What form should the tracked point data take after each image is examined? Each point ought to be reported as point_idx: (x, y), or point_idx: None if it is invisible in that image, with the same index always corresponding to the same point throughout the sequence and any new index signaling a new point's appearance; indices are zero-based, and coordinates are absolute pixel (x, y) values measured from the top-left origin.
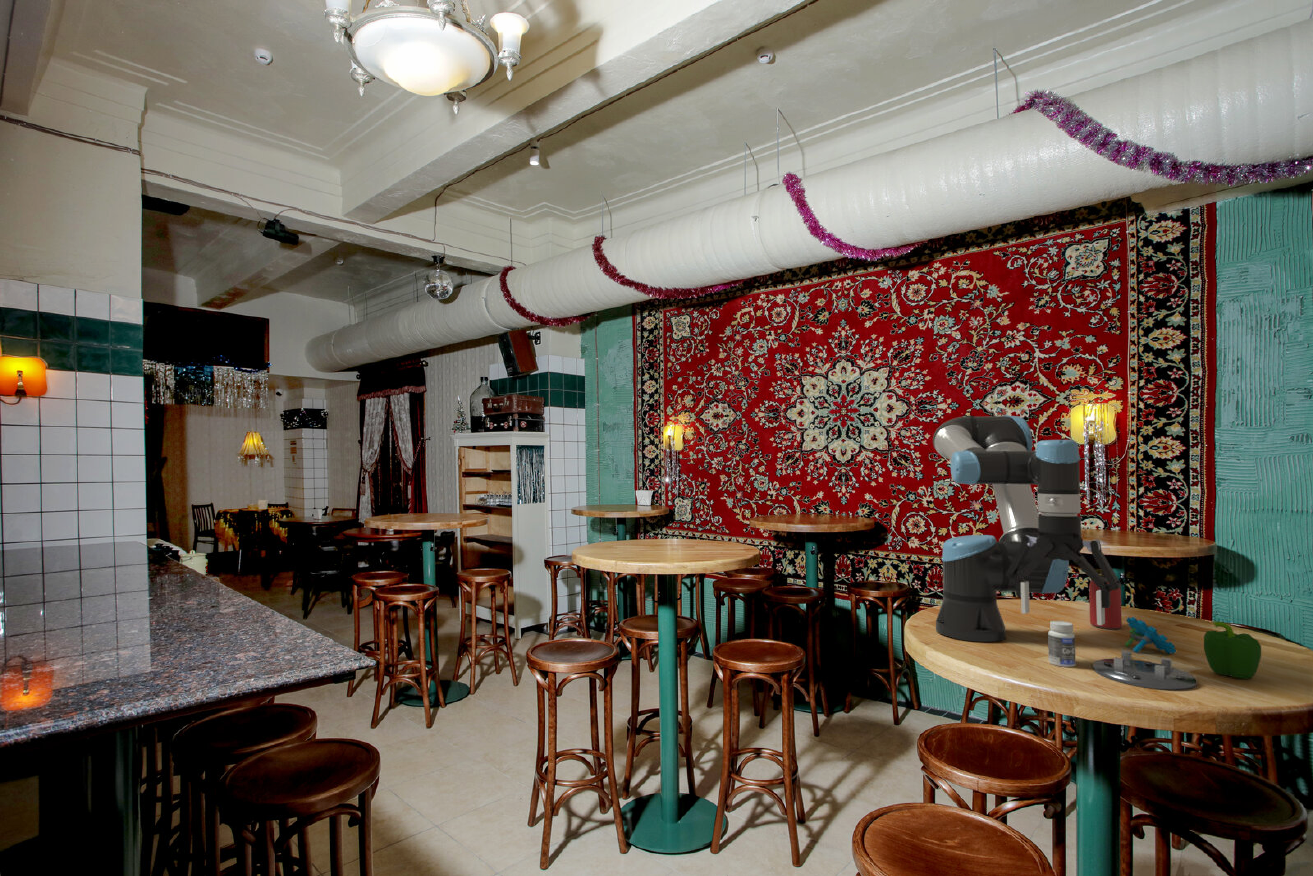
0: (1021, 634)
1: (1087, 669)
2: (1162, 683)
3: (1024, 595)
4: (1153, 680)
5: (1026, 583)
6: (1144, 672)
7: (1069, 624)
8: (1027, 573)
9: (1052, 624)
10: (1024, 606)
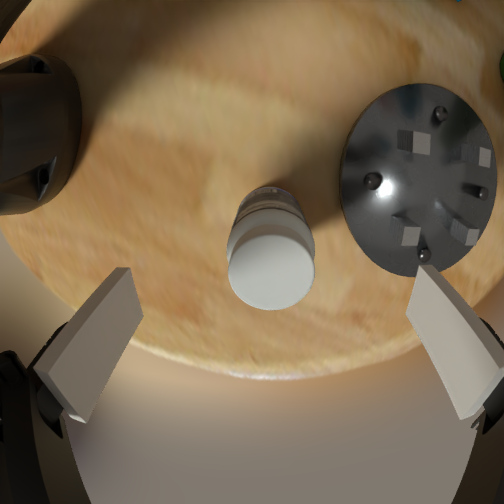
0: (96, 20)
1: (330, 220)
2: (456, 252)
3: (110, 373)
4: (446, 244)
5: (73, 398)
6: (437, 193)
7: (305, 281)
8: (76, 471)
9: (247, 301)
10: (130, 337)
